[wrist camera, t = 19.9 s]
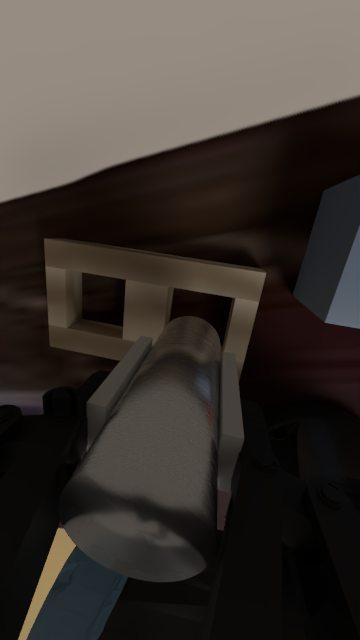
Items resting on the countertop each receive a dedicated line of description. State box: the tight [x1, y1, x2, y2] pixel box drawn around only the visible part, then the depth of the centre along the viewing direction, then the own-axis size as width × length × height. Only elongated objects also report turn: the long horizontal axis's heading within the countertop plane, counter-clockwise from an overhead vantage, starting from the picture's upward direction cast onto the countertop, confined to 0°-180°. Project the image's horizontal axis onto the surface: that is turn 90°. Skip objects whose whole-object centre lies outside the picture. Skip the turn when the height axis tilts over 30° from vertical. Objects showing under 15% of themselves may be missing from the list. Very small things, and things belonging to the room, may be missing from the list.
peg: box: [58, 316, 220, 582], centre depth 12 cm, size 4×4×12 cm
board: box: [44, 238, 266, 383], centre depth 25 cm, size 11×20×3 cm, turn 82°
